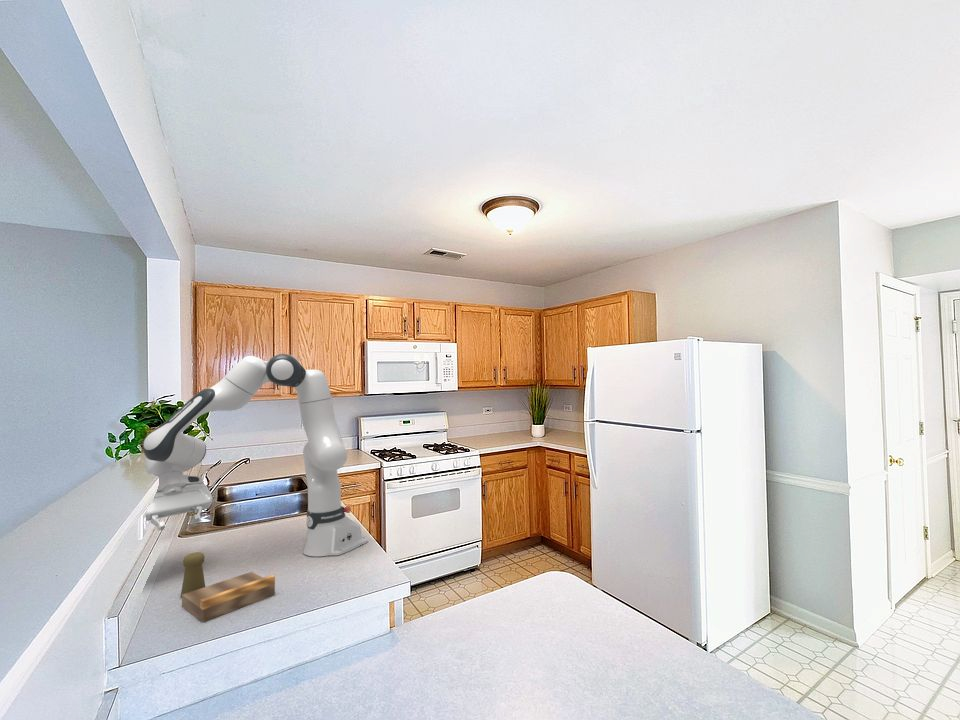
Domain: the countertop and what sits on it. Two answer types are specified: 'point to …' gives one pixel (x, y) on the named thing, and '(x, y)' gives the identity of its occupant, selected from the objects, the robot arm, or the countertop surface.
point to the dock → (227, 606)
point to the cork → (193, 572)
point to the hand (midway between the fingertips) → (180, 524)
